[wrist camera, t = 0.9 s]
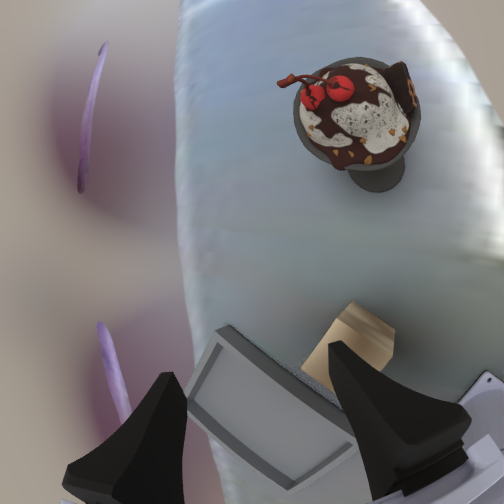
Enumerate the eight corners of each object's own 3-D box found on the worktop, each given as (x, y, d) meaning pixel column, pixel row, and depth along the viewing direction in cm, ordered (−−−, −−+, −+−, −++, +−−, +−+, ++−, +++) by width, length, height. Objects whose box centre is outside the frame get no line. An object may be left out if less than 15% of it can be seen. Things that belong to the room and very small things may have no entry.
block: (395, 329, 19) (392, 356, 14) (364, 369, 21) (350, 404, 16) (352, 300, 21) (336, 317, 16) (324, 341, 23) (300, 368, 17)
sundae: (326, 185, 22) (216, 111, 9) (352, 118, 21) (278, -7, 8) (397, 217, 19) (393, 162, 6) (423, 144, 18) (431, 11, 5)
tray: (370, 429, 20) (365, 444, 18) (297, 483, 24) (289, 496, 21) (229, 324, 28) (214, 330, 25) (190, 396, 31) (177, 404, 29)
